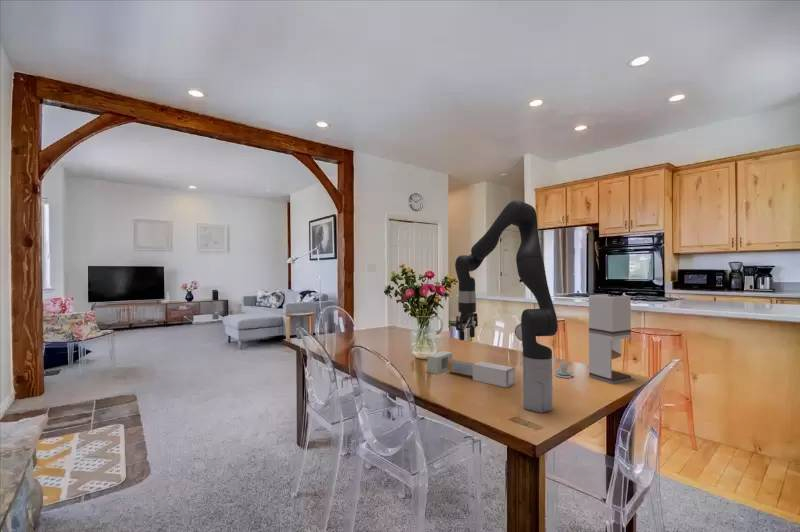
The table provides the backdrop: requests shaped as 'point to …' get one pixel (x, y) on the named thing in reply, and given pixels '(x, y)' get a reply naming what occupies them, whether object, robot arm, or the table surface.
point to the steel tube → (460, 366)
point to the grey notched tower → (607, 335)
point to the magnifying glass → (518, 332)
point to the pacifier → (563, 371)
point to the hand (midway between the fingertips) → (467, 338)
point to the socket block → (438, 362)
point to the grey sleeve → (493, 374)
